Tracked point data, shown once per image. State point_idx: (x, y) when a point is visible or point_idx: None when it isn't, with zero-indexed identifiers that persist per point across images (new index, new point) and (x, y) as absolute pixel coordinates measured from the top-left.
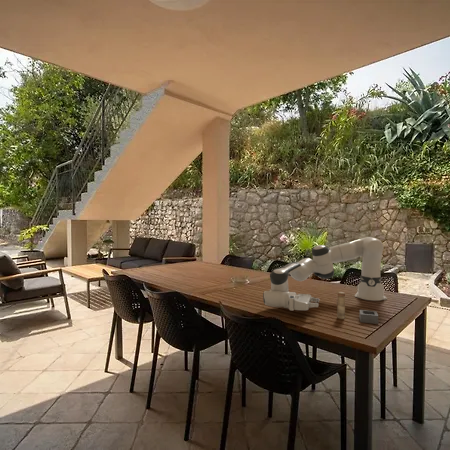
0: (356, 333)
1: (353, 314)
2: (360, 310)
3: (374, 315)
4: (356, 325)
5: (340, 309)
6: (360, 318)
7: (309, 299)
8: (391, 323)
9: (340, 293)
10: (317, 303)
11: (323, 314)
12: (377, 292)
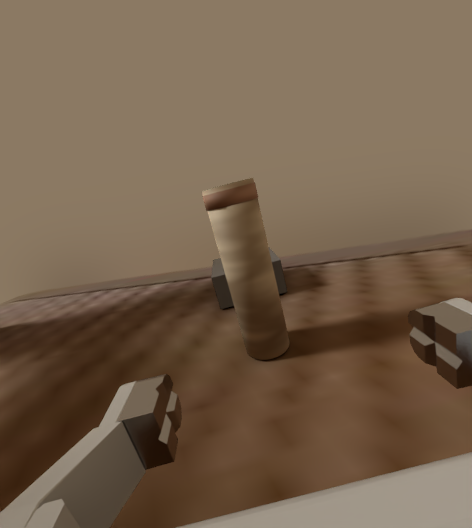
0: (443, 264)
1: (177, 333)
2: (223, 273)
3: (269, 248)
4: (337, 289)
5: (277, 288)
6: (283, 277)
7: (452, 458)
8: None
9: (251, 178)
10: (450, 302)
11: (232, 469)
12: None
